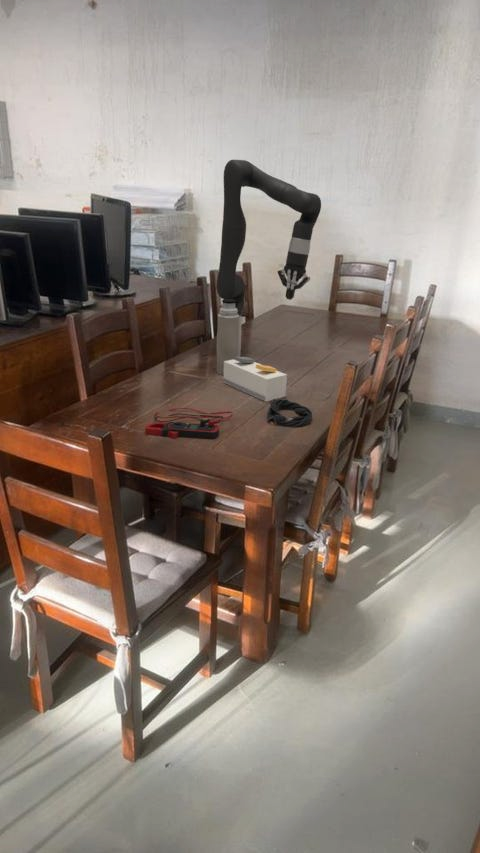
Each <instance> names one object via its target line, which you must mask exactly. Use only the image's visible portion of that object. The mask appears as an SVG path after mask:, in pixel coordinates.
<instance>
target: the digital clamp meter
mask: <svg viewBox="0 0 480 853" xmlns="http://www.w3.org/2000/svg"><path fill="white" fill-rule="evenodd" d="M175 410H190V411H194V412H198V413H201V414H199V415H197V414H188V413H180V415H183V416H177V415H178V413H173V414H169V415H168V416H166V417H162V416H161V415H157V414H159V413H162V412H163V410H162V411H157V412H154V416H156V417H154V420H155V421H156V422H152V423H149V424H147V425H146V426H144V429H145V431H144V432H145V434H146V435H152V436H161V437H169V438H170V437H171V438H173V439H176V438H178V437H179V438H181V437H182V438H192V439H193V438H194V439H195V438H196V439H207V440H210V439H211V440H216V439H217V438H218V437H219V435H220V426H219V425H218V424H220V423H222V422H226V421H229V420H230V419H231V418H232V417H233V415H234V414H233V413H234V411H229V410H228V411H218V412H213V411H211V412H210V413H207V412H203V411H200V410H197V409H194V408H189V407H179V408H178V407H177V408H174V409H168V410H166V412H169V411H170V412H171V411H175ZM222 414H230V415H229V416H223V415H222ZM220 415H221V416H220ZM157 418H160V419H170V418H171V420H163V421H162V420H158V419H157ZM172 418H173V419H172ZM174 418H175V419H174ZM205 418H206V419H205ZM210 418H211V419H210ZM182 419H193V420H198V421H199V423H193V422H192V423H191V422H182V421H176V420H182ZM215 419H219V420H215ZM175 421H176V422H175Z"/></svg>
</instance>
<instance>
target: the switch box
mask: <svg viewBox="0 0 480 853" xmlns="http://www.w3.org/2000/svg"><path fill="white" fill-rule="evenodd" d="M256 365H262V364H261V363H259V362H256V361H254V363H248V364H245V363H243V362H239V361H236V360H234V359H233V360H228V361H224V375H223V380H222V381H223V383H224V384H226V385H229V387H230V386H231V387H232V388H235V389H237V390H240V391H241V392H244V393H246V394H249V395H250V396H252V397H254V398H257V399H260V400H261V401H264V402H269V401H270V402H271V401H273V399H275V400H279V399H283V398H285V397H286V395H287V394H286V393H287V380H288V379H287V377H288V374H286V373H283V372H281V371H280V370H279V371H278V370H276V372H270V373H268V372H265V371H262V370H259V369H257V368H256Z"/></svg>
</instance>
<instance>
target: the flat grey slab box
mask: <svg viewBox="0 0 480 853" xmlns="http://www.w3.org/2000/svg"><path fill="white" fill-rule="evenodd" d="M234 360H236V361H239V362H243V363H245V364H248V363H254V362H255V359H253V358H251V357H248V356H239V357H237V356H235V358H234Z"/></svg>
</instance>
